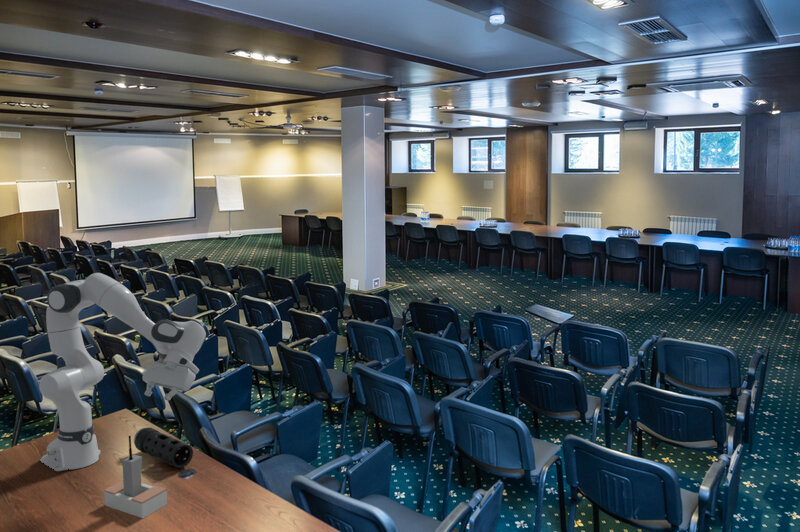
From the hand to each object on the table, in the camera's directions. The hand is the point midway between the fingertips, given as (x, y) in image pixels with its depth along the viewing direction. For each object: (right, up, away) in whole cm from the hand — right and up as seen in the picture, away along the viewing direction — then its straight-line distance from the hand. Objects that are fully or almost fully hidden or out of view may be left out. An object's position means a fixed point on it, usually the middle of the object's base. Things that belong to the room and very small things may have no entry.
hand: (156, 397), depth 213 cm
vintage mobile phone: (-5, -36, -5) cm, 36 cm away
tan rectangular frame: (-5, -35, -5) cm, 36 cm away
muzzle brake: (-9, -31, +29) cm, 44 cm away
